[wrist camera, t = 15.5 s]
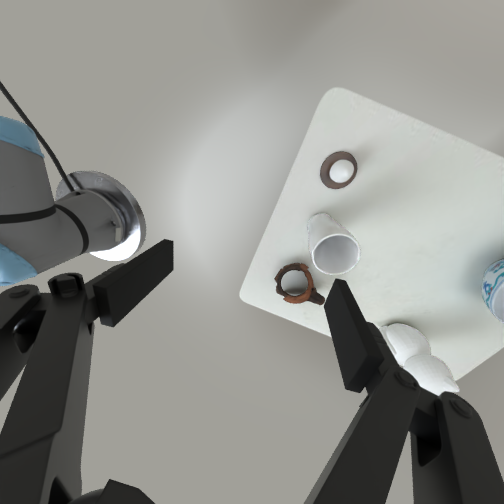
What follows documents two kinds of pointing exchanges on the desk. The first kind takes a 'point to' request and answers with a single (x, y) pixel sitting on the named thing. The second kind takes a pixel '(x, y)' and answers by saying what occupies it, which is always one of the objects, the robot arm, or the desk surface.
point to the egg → (341, 171)
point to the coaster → (328, 164)
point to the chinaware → (494, 289)
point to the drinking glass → (332, 245)
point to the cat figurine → (418, 358)
